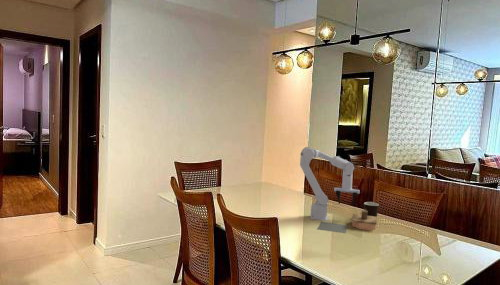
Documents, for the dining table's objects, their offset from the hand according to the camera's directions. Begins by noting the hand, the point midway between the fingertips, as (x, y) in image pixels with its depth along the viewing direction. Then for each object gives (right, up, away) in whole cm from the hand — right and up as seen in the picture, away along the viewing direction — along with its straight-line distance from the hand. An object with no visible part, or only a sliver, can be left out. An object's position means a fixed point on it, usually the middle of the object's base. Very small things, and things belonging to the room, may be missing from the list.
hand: (346, 204), depth 213 cm
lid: (+7, -7, -13) cm, 16 cm away
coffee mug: (+15, -10, +3) cm, 18 cm away
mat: (-12, -10, -16) cm, 23 cm away
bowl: (+7, -11, -12) cm, 18 cm away
